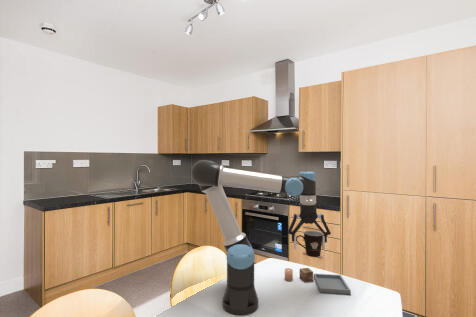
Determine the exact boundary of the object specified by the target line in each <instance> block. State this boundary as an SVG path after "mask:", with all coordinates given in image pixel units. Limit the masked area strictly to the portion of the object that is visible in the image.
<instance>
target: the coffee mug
mask: <svg viewBox="0 0 476 317" xmlns="http://www.w3.org/2000/svg"><path fill="white" fill-rule="evenodd" d="M323 235H324V234H323V233H322V232H321V231H316V230H306V231H303V235H300V234H299V235H296V244H298V245H300V247H302V248H304V250H305V254H306V256H308V257H311V258H318V257H321V253H322V252H321V251H322V237H323ZM299 237H301V238H302V239H303V241H304V245H303V244H301V243H300V242H299V241H298V238H299Z"/></svg>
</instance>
